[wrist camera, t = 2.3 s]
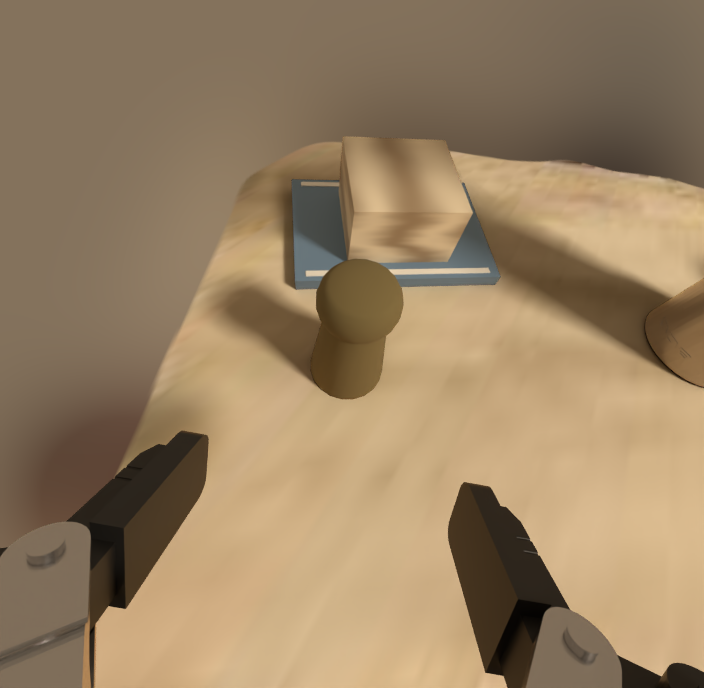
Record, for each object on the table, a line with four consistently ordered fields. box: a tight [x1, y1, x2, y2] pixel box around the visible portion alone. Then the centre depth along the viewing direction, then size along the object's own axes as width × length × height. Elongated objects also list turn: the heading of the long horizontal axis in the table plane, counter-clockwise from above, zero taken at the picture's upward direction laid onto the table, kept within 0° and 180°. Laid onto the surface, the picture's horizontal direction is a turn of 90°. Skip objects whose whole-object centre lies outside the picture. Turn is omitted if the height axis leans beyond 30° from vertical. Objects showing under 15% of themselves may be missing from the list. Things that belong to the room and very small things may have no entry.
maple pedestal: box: [339, 137, 473, 263], centre depth 32 cm, size 10×10×6 cm
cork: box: [311, 259, 403, 399], centre depth 23 cm, size 6×6×11 cm
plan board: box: [292, 179, 501, 289], centre depth 35 cm, size 20×14×1 cm
